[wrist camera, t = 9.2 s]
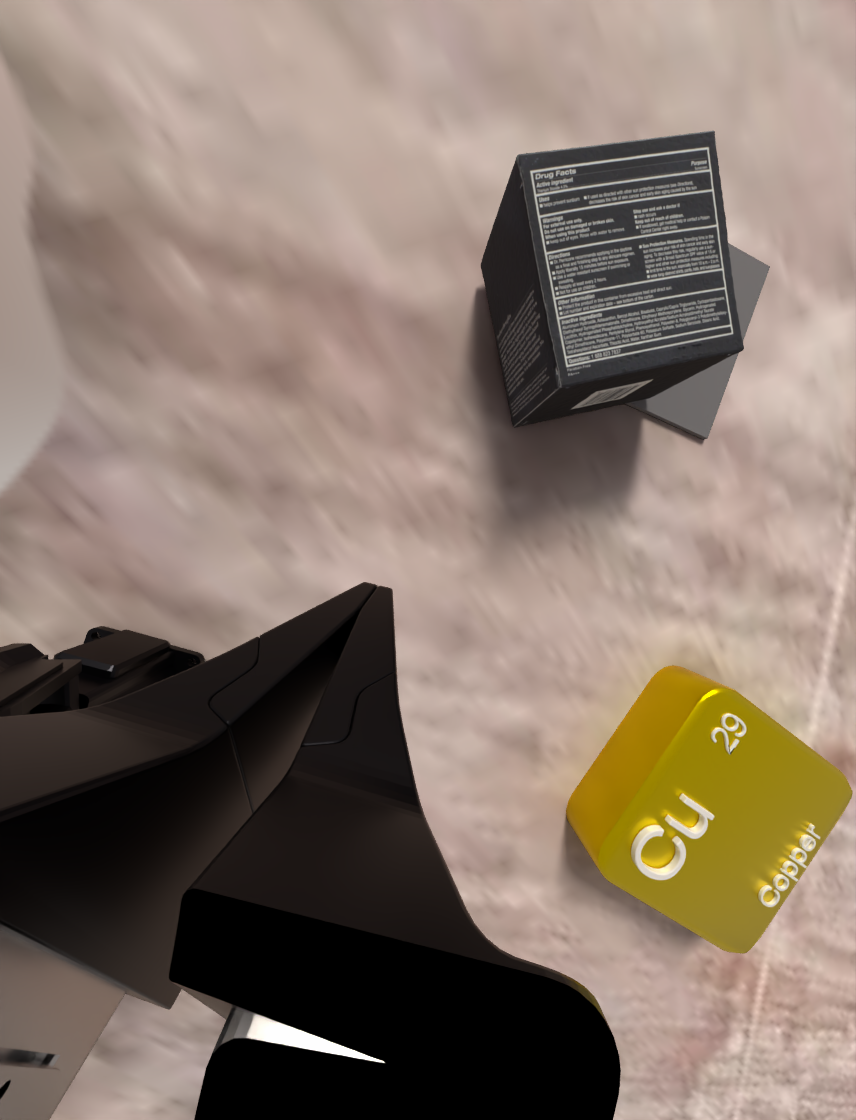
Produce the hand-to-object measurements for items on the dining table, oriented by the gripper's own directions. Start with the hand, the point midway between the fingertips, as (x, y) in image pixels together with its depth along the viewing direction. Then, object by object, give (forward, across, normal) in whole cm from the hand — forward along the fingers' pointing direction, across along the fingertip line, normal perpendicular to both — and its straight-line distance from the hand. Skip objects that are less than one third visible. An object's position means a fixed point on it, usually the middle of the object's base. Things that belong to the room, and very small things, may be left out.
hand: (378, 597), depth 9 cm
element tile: (+10, -23, +19) cm, 32 cm away
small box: (+16, -9, -6) cm, 19 cm away
